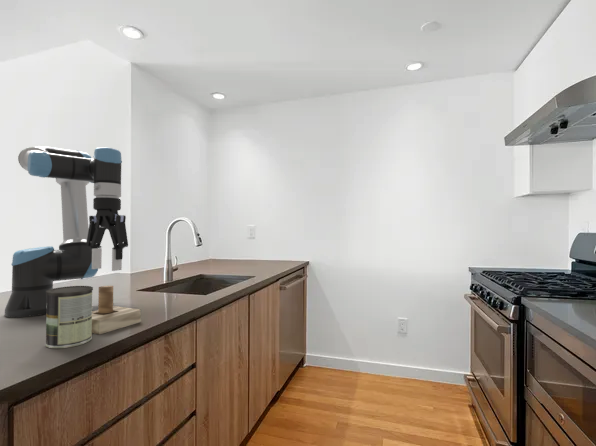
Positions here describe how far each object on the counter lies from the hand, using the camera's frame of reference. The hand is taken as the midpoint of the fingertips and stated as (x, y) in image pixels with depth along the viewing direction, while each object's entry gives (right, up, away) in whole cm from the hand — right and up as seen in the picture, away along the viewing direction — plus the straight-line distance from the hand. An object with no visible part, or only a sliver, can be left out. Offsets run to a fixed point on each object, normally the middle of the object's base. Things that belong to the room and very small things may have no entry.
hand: (106, 269), depth 104 cm
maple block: (+1, -17, -1) cm, 17 cm away
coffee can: (-1, -17, -16) cm, 23 cm away
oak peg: (0, -17, 0) cm, 17 cm away
